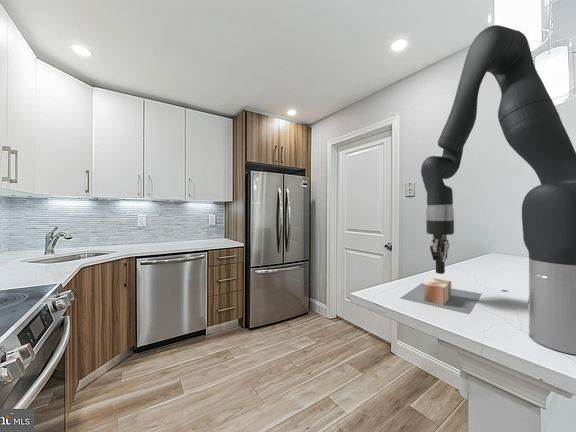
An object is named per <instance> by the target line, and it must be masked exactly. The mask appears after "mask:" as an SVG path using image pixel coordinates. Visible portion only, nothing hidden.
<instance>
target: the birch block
mask: <svg viewBox="0 0 576 432" xmlns="http://www.w3.org/2000/svg"><path fill="white" fill-rule="evenodd" d="M424 284H425V285H424V297H425V301H427V302H431V303H436V304H440V305H444V304H445V303H446V302H447V301H448V300H449V299H450V298H451V297H452V293H451V288H452V280H447V279H441V278H440V279H439V278H434V277H433V278H432V279H431V280H429V281H428V282H425V283H424Z"/></svg>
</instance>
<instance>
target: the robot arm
mask: <svg viewBox="0 0 576 432" xmlns="http://www.w3.org/2000/svg"><path fill="white" fill-rule="evenodd" d="M487 73H490V74H492V76H493V77H494V79H495V80H496V82H497V84H498V86H499V89H500V93H501V98H500V100H499V101H500V103H499V106H498V109H497V111H498V112H497V119H498V122H499V125H500V129H501V131H502V134H503V136H504V138H505V140H506V142H507V144H508V145H509V146H510V148H512V150H514V151H515V153H517V155H518V156H520V157H521V158H522V159H523V160H524V161H525V163H527V164H528V165H529V166H530V167H531V168H532V169H533V171H534V172H535V173H536V176H537V178H538V180H539V182H540V184H539V185H537V186H534V187H533V188H532V189H530V190H529V191H528V192H527V193H526V195H525V196H524V198H523V201H522V203H521V205H522V206H521V222H522V223H521V224H522V238H523V239H522V240H523V242H524V246H525V247H526V249H527V251H528V322H529V323H528V324H529V325H528V329H529V330H528V332H529V333H528V335H529V337H530V339H531V340H532V341H534V342H536V343H537V344H539V345H542V346H544V347H547V348H549V349H552V350H555V351H558V352H562V353H566V354H571V355H576V150H575V148H574V146H573V143H572V140H571V139H570V137H569V135H568V133H567V131H566V128H565V126H564V124H563V122H562V119H561V117H560V114H559V112H558V109H557V107H556V106H555V103H554V102H553V99H552V98H551V96H550V94H549V93H548V91H547V88H546V86H545V85H544V82H543V80H542V78H541V77H540V75H539V73H538V71H537V68H536V67H535V63H534V59H533V55H532V52H531V48H530V45H529V41H528V38H527V37H526V35H525V34H524V33H523V32H521V31H519V30H517V29H513V28H510V27H507V26H504V25H498V24H496V25H490V26H488V27H486V28H484V29H483V30H481V31H480V32H479V33H478V35H476V36H475V38H474V39H473V41H472V43H471V44H470V47H469V49H468V51H467V54H466V57H465V61H464V64H463V67H462V71H461V74H460V77H459V82H458V85H457V88H456V93H455V97H454V100H453V104H452V107H451V110H450V113H449V115H448V117H447V120H446V122H445V124H444V126H443V129H442V131H441V133H440V136H439V138H438V141H437V146H438V147H439V148H441V149H443V150H442V155H441V156H437V155H432V156H428V157H426V158H425V159H424V160H423V162H422V164H421V169H420V174H421V178H422V182H423V185H424V189H425V191H426V210H425V211H426V213H425V214H426V215H425V217H426V218H425V219H426V220H425V221H426V222H425V223H426V226H425V227H426V231H425V232H426V234H427V235H432V239H431V245H430V246H429V250H430V254H431V257H432V260H433V261H434V262H435V273H436V274H439V275H444V274H445V272H446V266H445V265H446V261H447V258H448V255H449V249H450V243H449V239H448V237H447V236H450V235H453V234H454V233H455V215H454V214H455V212H454V211H455V210H454V199H453V198H454V197H453V189H452V187H450V186H448V185H446V184H445V182H444V180H448V179H450V178H453V176H455V175H456V173H457V172H458V171H459V169H460V166H461V161H462V157H463V152H464V147H465V144H466V143H467V141H468V140H469V136H470V135H471V133H472V131H473V129H474V126H475V124H476V120H477V113H478V97H479V92H480V88H481V84H482V82H483V79H484V77H485V76H486V74H487Z"/></svg>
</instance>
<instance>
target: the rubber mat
mask: <svg viewBox="0 0 576 432" xmlns="http://www.w3.org/2000/svg"><path fill="white" fill-rule="evenodd" d="M425 284H426V283H420V284H419V285H417V286H415V287H414V288H412V289H411V290H410V291H408V292H407V293H405V294H404V295H402V296H400V297H399V299H401V300H406V301H411V302H413V303H417V304H418V303H419V304H422V305H428V306H432V307H436V308H440V309H444V310H449V311H453V312H457V313H462V314H466V315H470V314H471V312H472V311H473V309H474V308H475V305H476V304H477V303H478V301H479V299H480V298H481V296H482V293H479V292H474V291H468V290H463V289H462V290H461V289H458V288H457V289H456V288H452V287H451V293H452V297H451V298H450V299H449V300H448V301H447V302H446V303H445V304H444V305H440V304H436V303H431V302H427V301H425V297H424V285H425Z"/></svg>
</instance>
